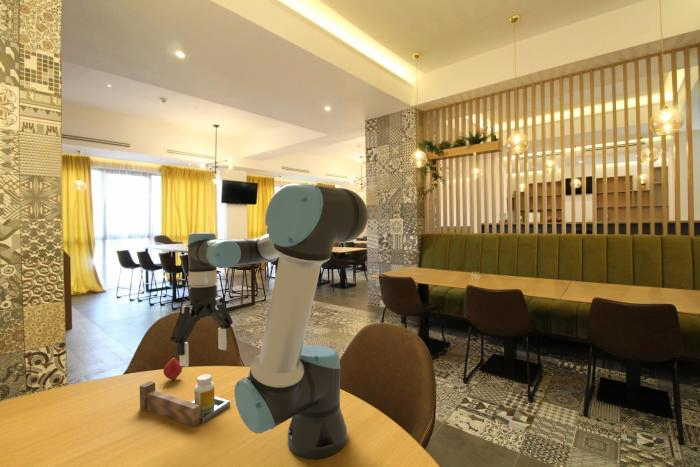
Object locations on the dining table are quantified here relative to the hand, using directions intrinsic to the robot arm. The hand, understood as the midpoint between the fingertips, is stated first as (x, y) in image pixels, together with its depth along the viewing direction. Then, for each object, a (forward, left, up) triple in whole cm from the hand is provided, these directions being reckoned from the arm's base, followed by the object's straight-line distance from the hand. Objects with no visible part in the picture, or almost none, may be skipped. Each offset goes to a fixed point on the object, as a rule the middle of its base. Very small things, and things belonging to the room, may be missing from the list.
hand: (204, 357), depth 96 cm
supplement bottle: (0, 0, -16) cm, 16 cm away
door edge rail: (+7, +6, -16) cm, 18 cm away
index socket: (0, 0, -16) cm, 16 cm away
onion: (+26, -9, -16) cm, 32 cm away
